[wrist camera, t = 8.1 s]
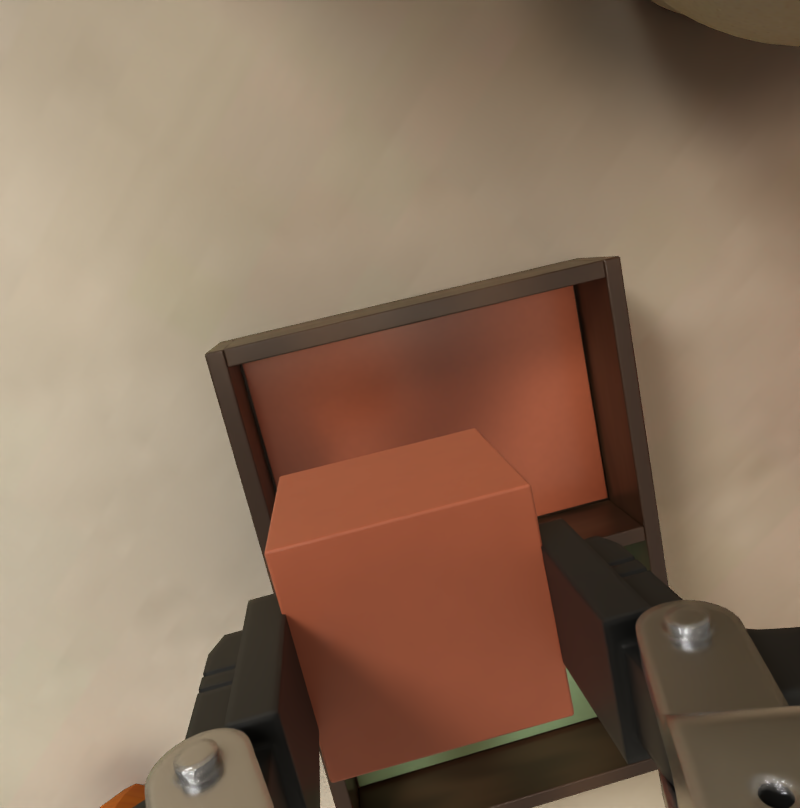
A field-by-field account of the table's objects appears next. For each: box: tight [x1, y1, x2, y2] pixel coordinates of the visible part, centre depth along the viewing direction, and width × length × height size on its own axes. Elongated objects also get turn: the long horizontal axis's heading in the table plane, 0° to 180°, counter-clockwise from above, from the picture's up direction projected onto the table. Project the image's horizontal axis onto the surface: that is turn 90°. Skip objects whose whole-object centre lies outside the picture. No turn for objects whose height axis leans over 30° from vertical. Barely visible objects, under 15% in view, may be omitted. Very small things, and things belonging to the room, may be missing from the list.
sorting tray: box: [205, 256, 668, 808], centre depth 26 cm, size 14×20×4 cm
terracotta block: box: [264, 428, 574, 783], centre depth 13 cm, size 4×4×4 cm
